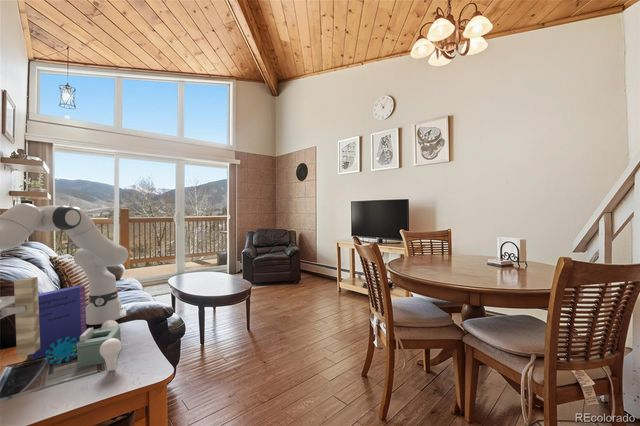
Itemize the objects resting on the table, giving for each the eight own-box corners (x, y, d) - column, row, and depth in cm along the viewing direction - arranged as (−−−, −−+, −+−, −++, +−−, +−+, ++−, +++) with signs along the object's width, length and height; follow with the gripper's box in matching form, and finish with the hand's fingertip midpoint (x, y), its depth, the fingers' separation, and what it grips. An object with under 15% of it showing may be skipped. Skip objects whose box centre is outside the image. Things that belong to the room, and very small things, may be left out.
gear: (39, 365, 99) (50, 337, 106) (43, 371, 103) (53, 344, 109) (79, 360, 104) (87, 334, 111) (81, 367, 108) (88, 341, 114)
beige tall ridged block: (24, 350, 92) (21, 278, 92) (40, 348, 94) (37, 277, 94) (16, 356, 89) (14, 281, 89) (33, 353, 90) (30, 279, 90)
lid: (89, 334, 110) (89, 326, 110) (120, 329, 114) (119, 321, 114) (77, 347, 99) (76, 338, 99) (111, 341, 103) (110, 333, 103)
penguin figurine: (116, 316, 125) (124, 325, 117) (117, 335, 125) (125, 345, 118) (99, 321, 120) (106, 330, 112) (99, 340, 121) (106, 351, 113)
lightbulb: (124, 370, 96) (122, 338, 96) (101, 378, 92) (100, 345, 92) (120, 364, 101) (119, 333, 101) (99, 371, 96) (98, 339, 96)
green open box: (90, 352, 110) (89, 335, 110) (120, 347, 114) (120, 330, 114) (77, 367, 99) (77, 348, 99) (111, 361, 103) (111, 342, 103)
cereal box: (81, 338, 124) (78, 284, 124) (87, 340, 122) (84, 285, 122) (27, 357, 108) (24, 296, 108) (32, 360, 106) (29, 297, 106)
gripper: (-59, 313, 77) (9, 305, 82) (-6, 294, 96) (46, 289, 101) (-58, 336, 77) (10, 327, 82) (-6, 313, 96) (47, 306, 101)
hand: (30, 306), depth 91 cm, fingers closed on beige tall ridged block, 4 cm apart
